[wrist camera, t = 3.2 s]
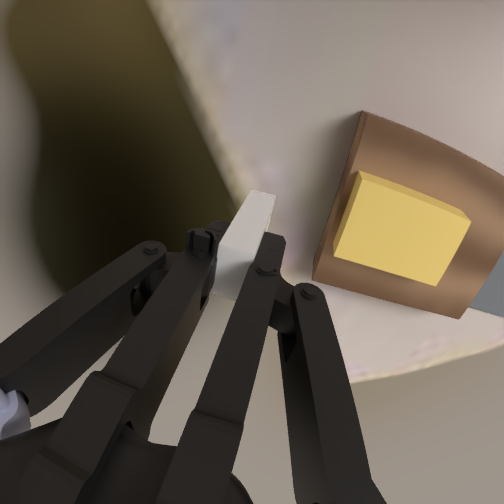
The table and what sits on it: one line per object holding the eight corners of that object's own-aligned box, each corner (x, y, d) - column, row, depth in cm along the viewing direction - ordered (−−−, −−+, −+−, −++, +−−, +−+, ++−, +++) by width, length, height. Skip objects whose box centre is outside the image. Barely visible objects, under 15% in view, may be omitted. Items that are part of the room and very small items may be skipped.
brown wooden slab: (361, 110, 19) (368, 114, 17) (513, 182, 18) (530, 195, 16) (313, 260, 27) (311, 280, 25) (451, 300, 26) (459, 319, 24)
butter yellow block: (358, 170, 19) (362, 179, 18) (461, 210, 18) (471, 221, 17) (333, 242, 22) (333, 256, 21) (429, 271, 22) (435, 286, 20)
